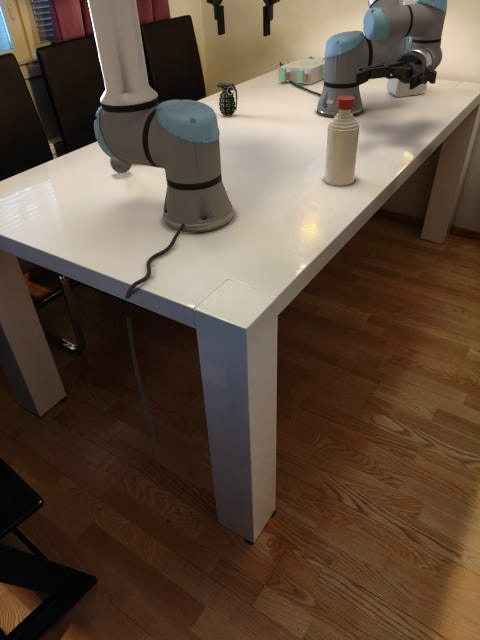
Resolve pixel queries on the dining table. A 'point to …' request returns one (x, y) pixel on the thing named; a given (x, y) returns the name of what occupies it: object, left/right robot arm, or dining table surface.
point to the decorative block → (302, 70)
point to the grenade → (227, 99)
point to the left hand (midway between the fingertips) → (243, 35)
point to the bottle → (341, 149)
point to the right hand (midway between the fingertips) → (383, 81)
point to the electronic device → (398, 87)
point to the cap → (345, 102)
